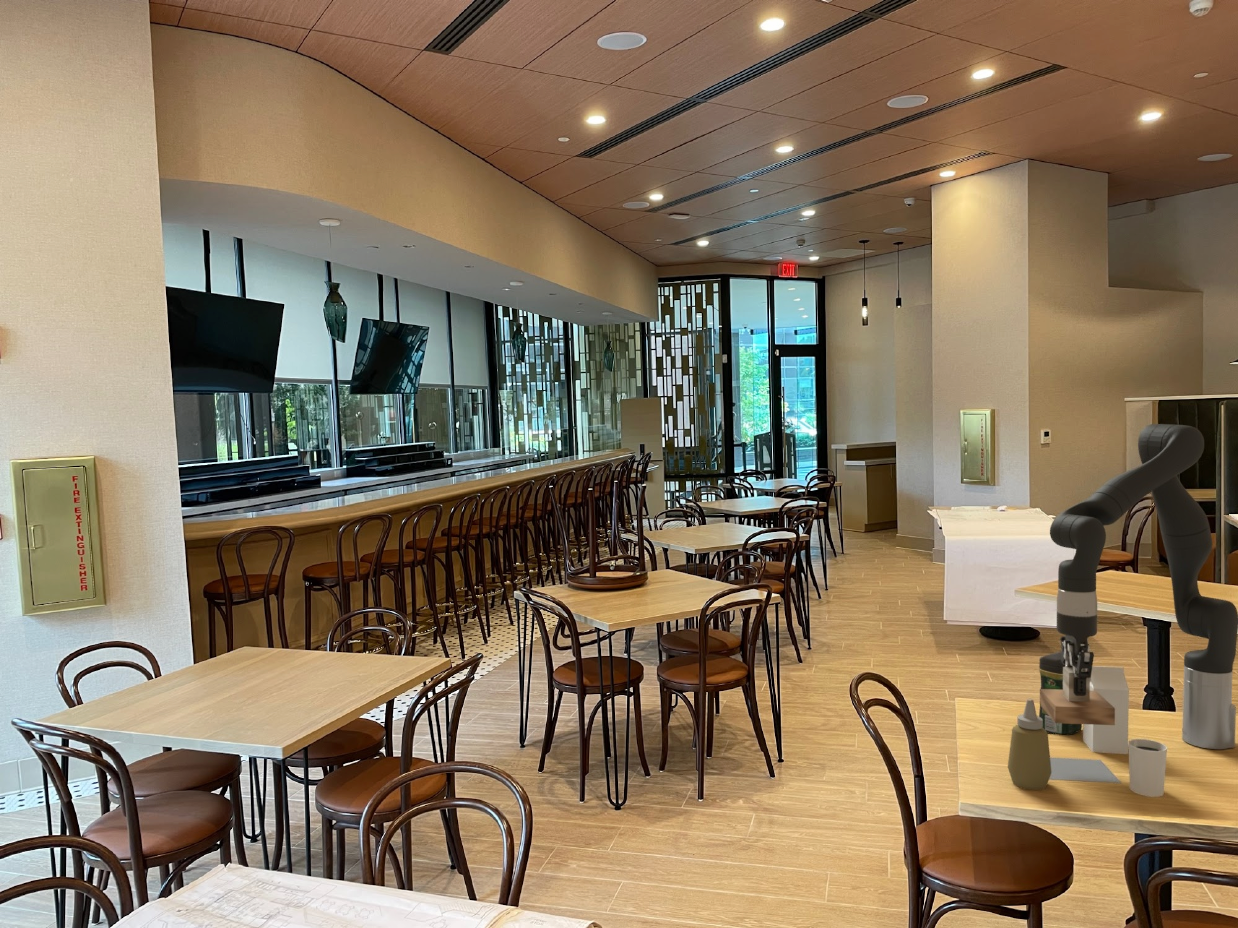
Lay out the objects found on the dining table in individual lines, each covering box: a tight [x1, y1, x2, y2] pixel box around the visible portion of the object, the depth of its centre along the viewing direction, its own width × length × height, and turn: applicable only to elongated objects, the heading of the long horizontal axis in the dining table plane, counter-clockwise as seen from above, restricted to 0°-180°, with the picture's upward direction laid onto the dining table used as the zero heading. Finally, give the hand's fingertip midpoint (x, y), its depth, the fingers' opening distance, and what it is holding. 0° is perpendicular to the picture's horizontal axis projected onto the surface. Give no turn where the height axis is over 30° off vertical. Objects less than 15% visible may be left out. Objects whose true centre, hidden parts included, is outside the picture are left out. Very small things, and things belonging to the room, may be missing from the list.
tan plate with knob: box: [1039, 667, 1115, 725], centre depth 186 cm, size 11×11×10 cm
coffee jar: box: [1038, 650, 1083, 736], centre depth 212 cm, size 10×8×19 cm
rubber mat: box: [1049, 756, 1122, 784], centre depth 187 cm, size 14×12×1 cm
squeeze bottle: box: [1007, 698, 1052, 791], centre depth 180 cm, size 8×8×18 cm
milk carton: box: [1082, 665, 1130, 755], centre depth 199 cm, size 7×7×19 cm
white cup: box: [1128, 738, 1168, 798], centre depth 176 cm, size 7×7×10 cm
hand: (1076, 691), depth 186 cm, fingers closed on tan plate with knob, 4 cm apart
